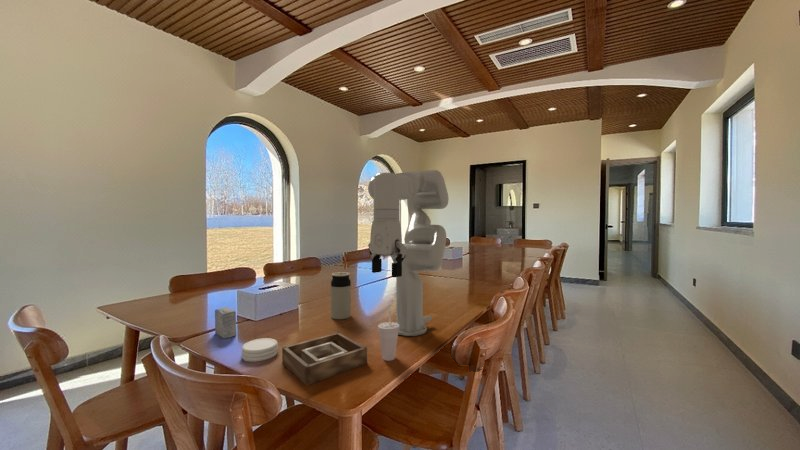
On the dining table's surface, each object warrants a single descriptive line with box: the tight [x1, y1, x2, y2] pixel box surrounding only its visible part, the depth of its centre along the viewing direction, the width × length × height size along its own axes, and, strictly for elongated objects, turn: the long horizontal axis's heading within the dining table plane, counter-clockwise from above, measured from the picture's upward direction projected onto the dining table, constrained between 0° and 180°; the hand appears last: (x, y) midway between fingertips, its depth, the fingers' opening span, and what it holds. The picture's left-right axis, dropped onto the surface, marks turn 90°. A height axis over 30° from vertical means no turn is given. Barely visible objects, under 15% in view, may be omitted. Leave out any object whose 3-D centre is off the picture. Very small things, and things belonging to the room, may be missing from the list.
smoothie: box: [377, 309, 400, 362], centre depth 95 cm, size 6×6×14 cm
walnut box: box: [281, 331, 368, 386], centre depth 92 cm, size 18×16×4 cm
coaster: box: [241, 337, 279, 363], centre depth 97 cm, size 10×10×4 cm
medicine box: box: [214, 306, 237, 339], centre depth 114 cm, size 8×4×9 cm, turn 47°
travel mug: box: [330, 271, 352, 320], centre depth 133 cm, size 8×8×18 cm
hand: (386, 274), depth 95 cm, fingers open, 9 cm apart
